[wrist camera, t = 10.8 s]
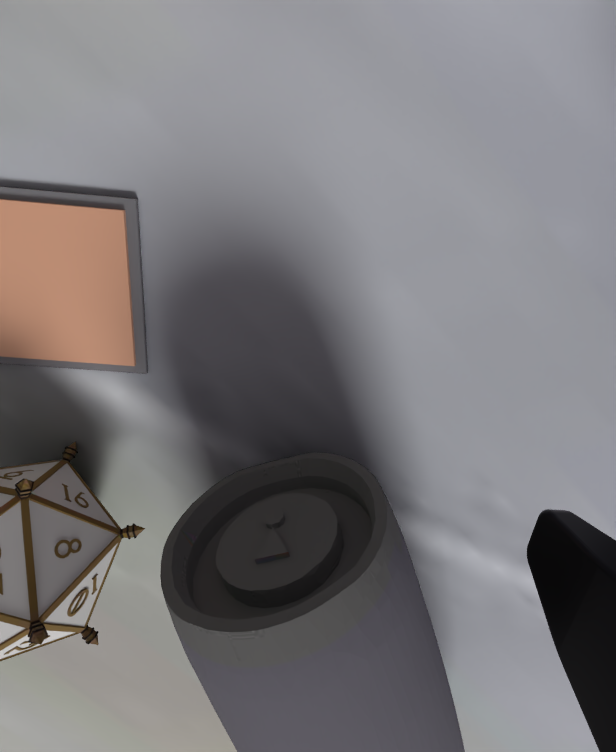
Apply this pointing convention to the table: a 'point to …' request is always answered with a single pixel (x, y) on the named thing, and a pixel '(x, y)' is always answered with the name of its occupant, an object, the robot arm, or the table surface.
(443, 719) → the bluetooth speaker
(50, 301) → the tile
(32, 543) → the game die
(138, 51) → the table surface
